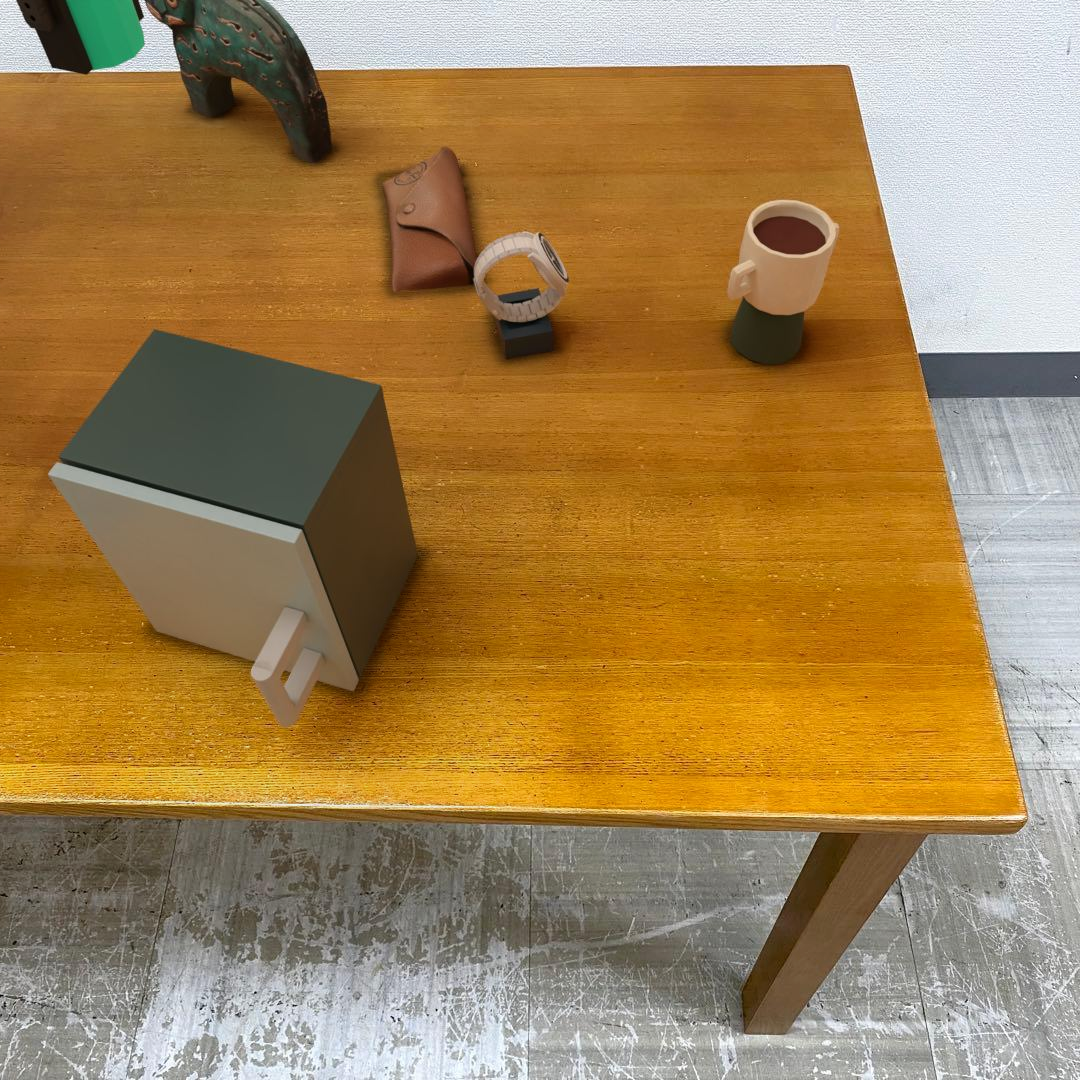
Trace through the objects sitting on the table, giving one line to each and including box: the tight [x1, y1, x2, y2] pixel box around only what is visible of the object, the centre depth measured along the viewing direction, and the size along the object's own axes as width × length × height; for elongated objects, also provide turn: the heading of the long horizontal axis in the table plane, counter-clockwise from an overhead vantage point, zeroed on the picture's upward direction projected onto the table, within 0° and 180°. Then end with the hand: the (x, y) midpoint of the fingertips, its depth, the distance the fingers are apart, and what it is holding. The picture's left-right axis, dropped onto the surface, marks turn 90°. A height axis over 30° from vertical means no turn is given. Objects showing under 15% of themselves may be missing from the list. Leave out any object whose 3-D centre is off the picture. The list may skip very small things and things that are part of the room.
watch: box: [473, 230, 570, 360], centre depth 87 cm, size 6×8×11 cm
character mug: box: [726, 199, 840, 366], centre depth 86 cm, size 11×7×13 cm, turn 121°
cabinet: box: [58, 329, 419, 678], centre depth 69 cm, size 11×16×20 cm
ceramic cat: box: [144, 0, 333, 164], centre depth 102 cm, size 20×6×20 cm, turn 54°
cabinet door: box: [47, 461, 360, 728], centre depth 65 cm, size 6×16×20 cm, turn 72°
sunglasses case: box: [381, 146, 478, 293], centre depth 99 cm, size 18×7×7 cm
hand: (98, 41), depth 70 cm, fingers closed on candle, 6 cm apart
